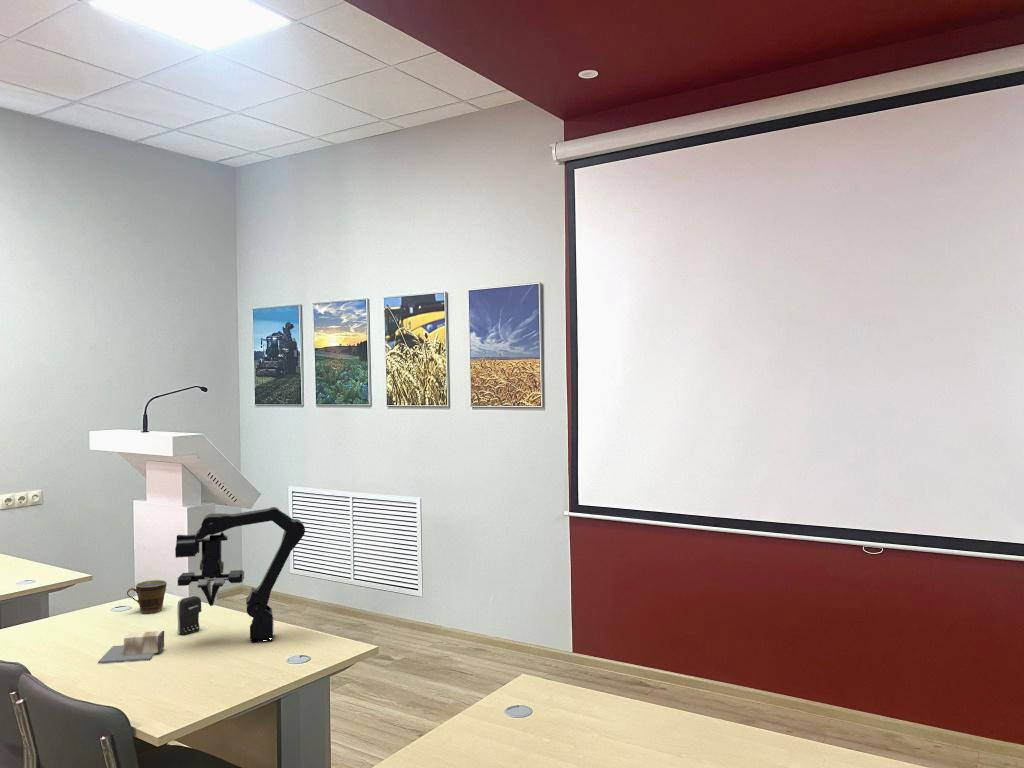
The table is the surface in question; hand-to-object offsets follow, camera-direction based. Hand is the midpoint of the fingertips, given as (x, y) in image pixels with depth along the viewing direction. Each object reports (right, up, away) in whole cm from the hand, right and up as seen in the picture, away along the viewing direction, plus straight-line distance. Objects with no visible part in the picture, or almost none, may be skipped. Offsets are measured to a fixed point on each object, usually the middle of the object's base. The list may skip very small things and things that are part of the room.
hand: (211, 605), depth 236 cm
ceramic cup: (-37, -13, +35) cm, 52 cm away
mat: (-21, -12, -9) cm, 25 cm away
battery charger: (-12, -12, +12) cm, 21 cm away
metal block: (-12, -9, -7) cm, 16 cm away
